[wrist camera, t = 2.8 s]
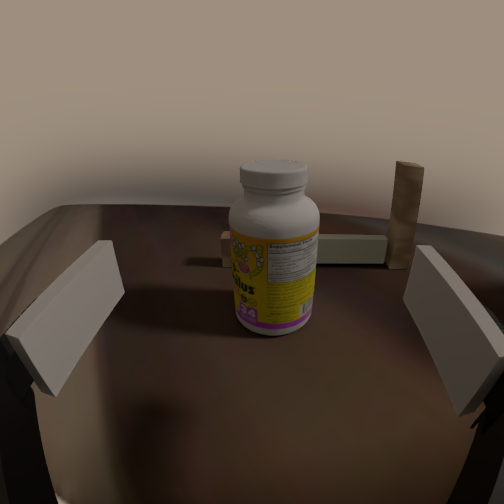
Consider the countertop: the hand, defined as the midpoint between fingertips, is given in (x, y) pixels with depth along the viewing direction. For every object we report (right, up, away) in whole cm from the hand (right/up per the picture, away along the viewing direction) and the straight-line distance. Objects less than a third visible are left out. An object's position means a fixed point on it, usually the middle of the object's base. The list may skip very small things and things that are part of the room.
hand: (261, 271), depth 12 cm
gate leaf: (+7, 0, +22) cm, 23 cm away
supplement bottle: (+2, -5, +14) cm, 15 cm away
